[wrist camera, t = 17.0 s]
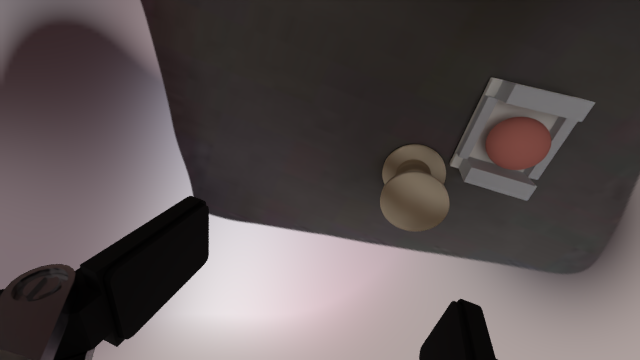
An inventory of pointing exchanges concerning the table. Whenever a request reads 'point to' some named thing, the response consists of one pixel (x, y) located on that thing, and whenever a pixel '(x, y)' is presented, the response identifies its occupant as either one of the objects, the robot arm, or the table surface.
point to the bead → (518, 143)
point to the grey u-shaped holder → (508, 103)
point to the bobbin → (414, 188)
